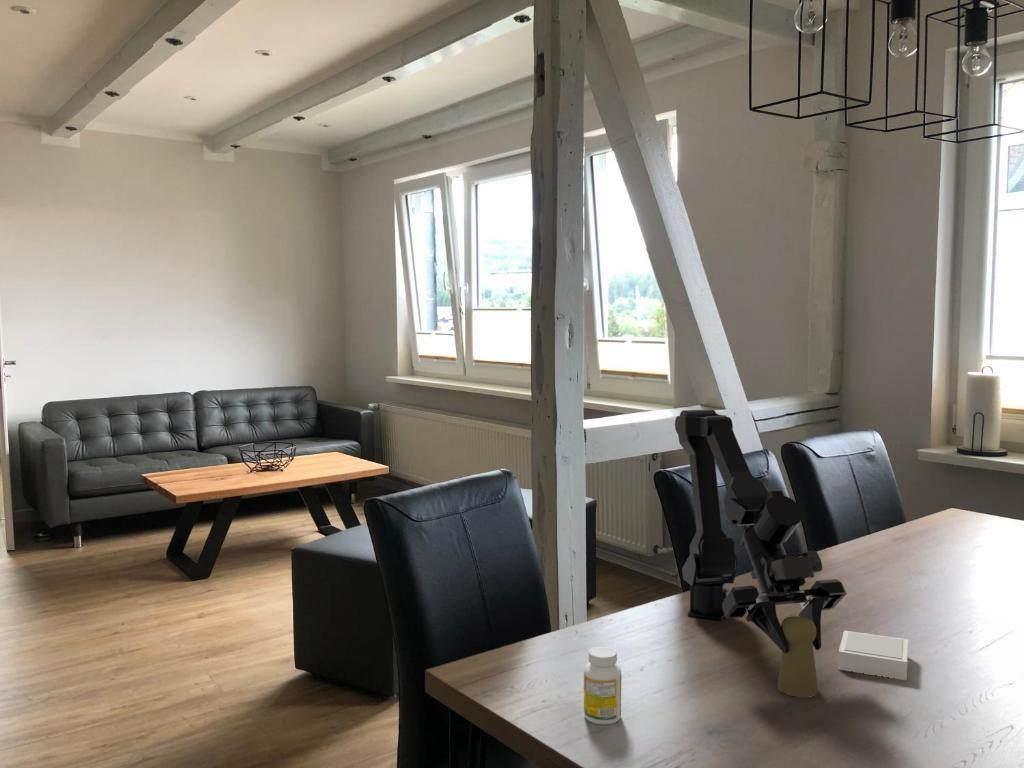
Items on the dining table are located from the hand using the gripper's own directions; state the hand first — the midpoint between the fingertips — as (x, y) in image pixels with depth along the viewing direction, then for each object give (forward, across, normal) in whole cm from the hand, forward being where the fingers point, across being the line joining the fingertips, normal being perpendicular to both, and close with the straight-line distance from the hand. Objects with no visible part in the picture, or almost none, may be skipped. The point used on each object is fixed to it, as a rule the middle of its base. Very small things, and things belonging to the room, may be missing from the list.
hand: (802, 650), depth 128 cm
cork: (+4, 0, +6) cm, 7 cm away
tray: (0, +17, +10) cm, 20 cm away
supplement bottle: (+6, -32, +4) cm, 33 cm away
